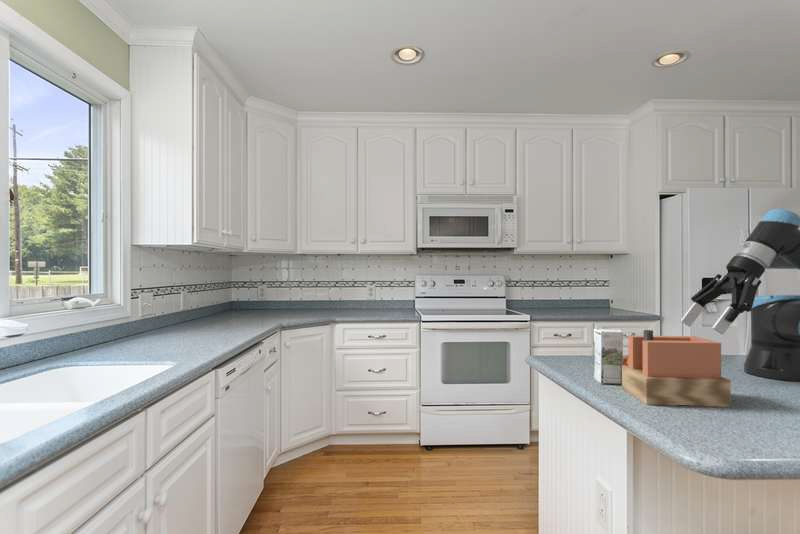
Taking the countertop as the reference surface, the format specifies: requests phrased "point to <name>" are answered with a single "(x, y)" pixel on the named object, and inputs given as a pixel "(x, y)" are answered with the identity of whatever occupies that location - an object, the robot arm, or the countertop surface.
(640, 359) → the c link
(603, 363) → the syrup box
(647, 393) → the stand
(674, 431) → the countertop surface
